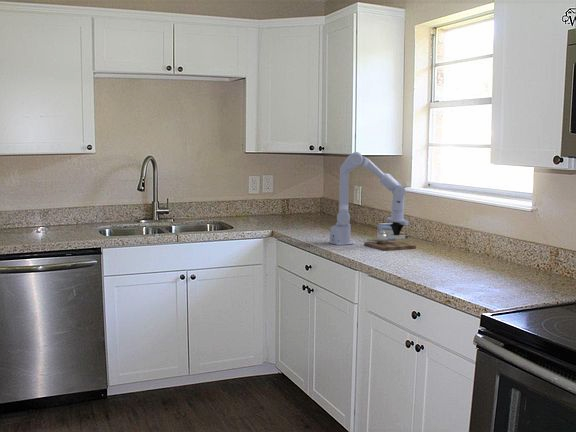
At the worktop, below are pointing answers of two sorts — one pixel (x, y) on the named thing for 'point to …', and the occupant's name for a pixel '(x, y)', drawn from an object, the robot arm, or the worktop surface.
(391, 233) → the medicine box
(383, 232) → the ball-knob lever
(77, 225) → the worktop surface
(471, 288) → the worktop surface
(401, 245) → the stand
